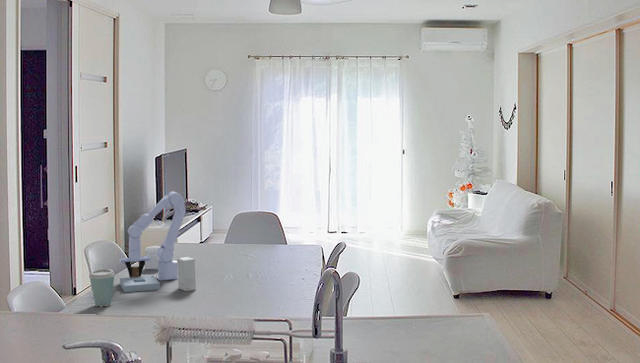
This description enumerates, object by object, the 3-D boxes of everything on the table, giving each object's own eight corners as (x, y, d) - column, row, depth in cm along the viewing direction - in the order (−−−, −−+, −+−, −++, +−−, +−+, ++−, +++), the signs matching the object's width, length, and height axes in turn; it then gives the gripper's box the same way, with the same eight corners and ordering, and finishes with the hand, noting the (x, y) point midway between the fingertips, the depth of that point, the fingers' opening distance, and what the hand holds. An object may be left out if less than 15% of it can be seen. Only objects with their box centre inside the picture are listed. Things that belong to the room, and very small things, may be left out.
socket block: (153, 281, 335) (153, 275, 335) (159, 289, 321) (159, 283, 320) (119, 284, 329) (119, 278, 328) (124, 292, 314) (124, 285, 314)
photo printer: (164, 267, 367) (164, 245, 366) (164, 269, 363) (163, 246, 361) (145, 268, 365) (145, 245, 364) (144, 269, 361) (144, 247, 360)
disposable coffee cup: (112, 308, 287) (111, 273, 286) (86, 308, 286) (85, 273, 285) (117, 301, 298) (117, 268, 296) (92, 302, 297) (92, 268, 296)
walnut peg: (138, 279, 339) (138, 265, 338) (139, 281, 335) (139, 267, 335) (130, 280, 337) (130, 266, 337) (131, 282, 334) (131, 268, 333)
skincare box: (196, 290, 320) (196, 259, 319) (183, 291, 317) (183, 260, 315) (189, 286, 327) (189, 256, 326) (177, 288, 324) (177, 257, 322)
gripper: (148, 247, 342) (148, 273, 343) (118, 248, 336) (118, 275, 337) (150, 249, 335) (151, 276, 336) (120, 251, 329) (120, 279, 331)
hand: (135, 276), depth 336 cm, fingers open, 4 cm apart
